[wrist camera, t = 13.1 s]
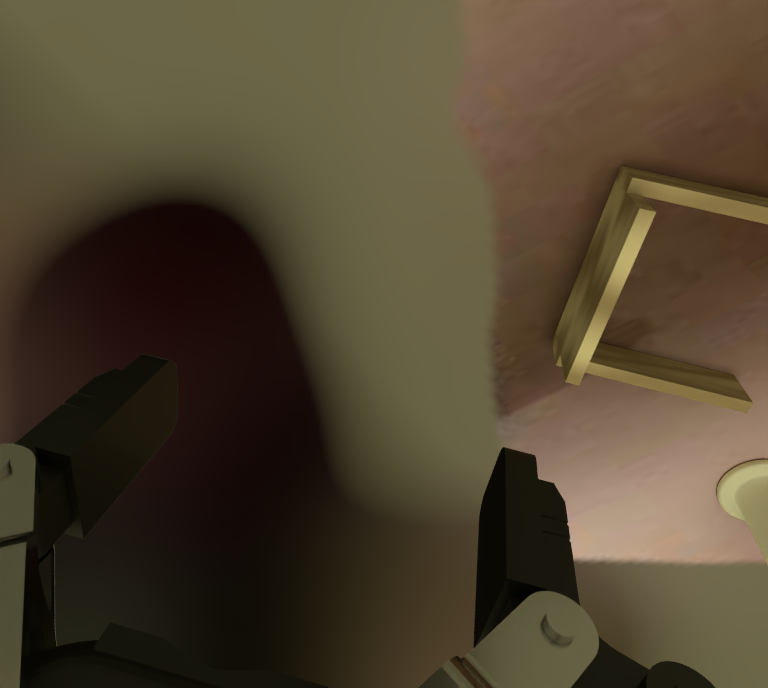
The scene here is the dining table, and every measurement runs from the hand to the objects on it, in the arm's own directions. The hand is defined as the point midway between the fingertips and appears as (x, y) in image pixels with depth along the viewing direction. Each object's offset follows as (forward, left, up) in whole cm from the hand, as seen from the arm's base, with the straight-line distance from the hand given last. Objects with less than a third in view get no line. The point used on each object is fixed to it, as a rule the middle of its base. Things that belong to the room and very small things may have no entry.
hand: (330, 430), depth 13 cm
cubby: (+5, +20, -33) cm, 39 cm away
